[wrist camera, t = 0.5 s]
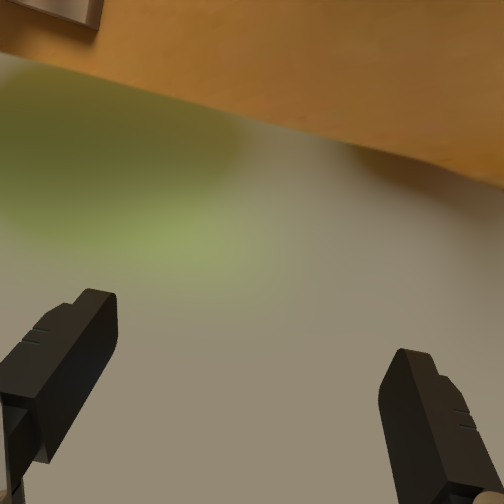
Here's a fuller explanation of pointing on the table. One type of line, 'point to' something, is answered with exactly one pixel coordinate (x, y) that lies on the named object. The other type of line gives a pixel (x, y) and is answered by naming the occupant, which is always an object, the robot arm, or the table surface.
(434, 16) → the table surface
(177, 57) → the table surface
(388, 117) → the table surface
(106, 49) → the table surface
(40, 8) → the walnut stand
